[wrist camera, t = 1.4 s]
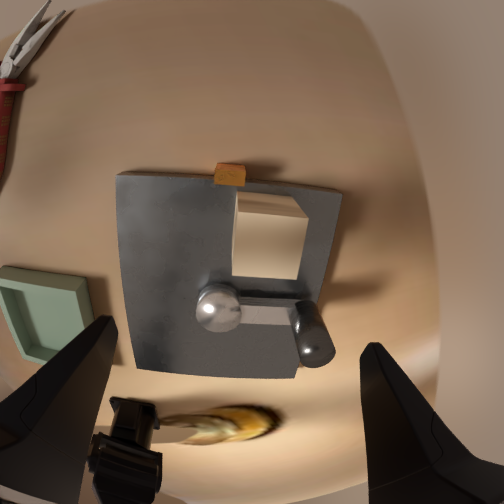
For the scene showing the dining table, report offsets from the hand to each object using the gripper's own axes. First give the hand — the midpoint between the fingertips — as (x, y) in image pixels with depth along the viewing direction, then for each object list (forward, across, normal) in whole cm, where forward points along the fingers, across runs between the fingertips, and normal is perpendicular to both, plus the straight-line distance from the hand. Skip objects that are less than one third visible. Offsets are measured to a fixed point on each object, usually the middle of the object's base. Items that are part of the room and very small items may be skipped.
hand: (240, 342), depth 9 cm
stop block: (+13, -1, +3) cm, 13 cm away
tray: (+10, +21, +16) cm, 28 cm away
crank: (+11, -2, +10) cm, 15 cm away
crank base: (+13, +2, +10) cm, 16 cm away
